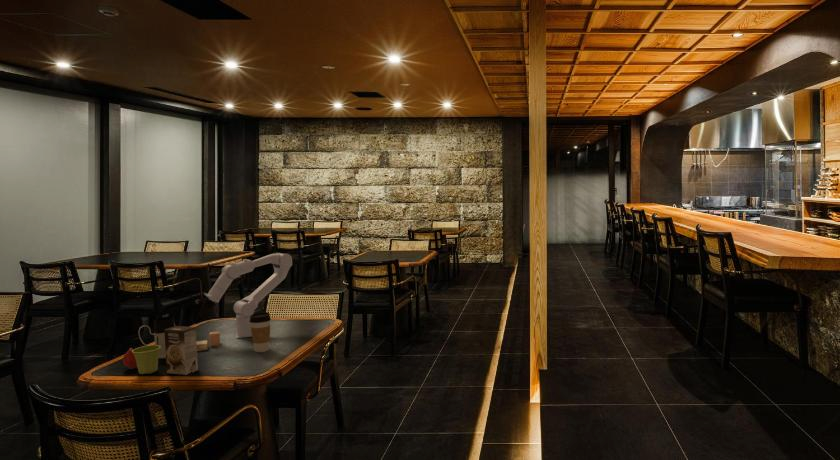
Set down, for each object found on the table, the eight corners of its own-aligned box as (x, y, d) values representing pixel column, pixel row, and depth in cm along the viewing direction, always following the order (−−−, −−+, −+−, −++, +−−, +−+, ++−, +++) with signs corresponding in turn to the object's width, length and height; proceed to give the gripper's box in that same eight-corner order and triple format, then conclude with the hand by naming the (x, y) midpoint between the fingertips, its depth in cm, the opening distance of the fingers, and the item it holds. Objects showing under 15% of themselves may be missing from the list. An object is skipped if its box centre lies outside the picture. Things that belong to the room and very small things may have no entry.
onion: (128, 366, 204) (126, 346, 203) (143, 365, 204) (142, 345, 204) (120, 371, 198) (119, 350, 198) (137, 370, 198) (135, 349, 198)
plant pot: (143, 377, 190) (141, 353, 190) (128, 373, 195) (126, 350, 195) (167, 369, 198) (165, 346, 198) (152, 366, 203) (151, 343, 203)
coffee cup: (276, 347, 222) (274, 312, 221) (264, 353, 214) (262, 316, 213) (259, 346, 225) (257, 311, 224) (246, 352, 217) (244, 316, 216)
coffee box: (166, 373, 194) (163, 329, 193) (179, 367, 200) (176, 325, 199) (185, 375, 191) (182, 330, 190) (199, 369, 197) (196, 326, 196)
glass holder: (181, 354, 218) (179, 318, 217) (144, 363, 208) (141, 325, 207) (173, 350, 224) (170, 315, 223) (136, 358, 214) (134, 321, 213)
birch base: (207, 347, 229) (207, 340, 229) (207, 350, 223) (207, 343, 223) (192, 349, 227) (191, 342, 227) (192, 352, 221) (191, 345, 221)
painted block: (220, 342, 235) (219, 331, 234) (220, 344, 231) (219, 333, 230) (210, 343, 233) (209, 332, 233) (210, 346, 229) (209, 334, 229)
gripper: (210, 285, 242) (192, 312, 237) (211, 282, 229) (192, 310, 224) (224, 293, 244) (206, 320, 239) (226, 291, 231) (207, 318, 226)
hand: (200, 315), depth 232 cm, fingers open, 7 cm apart
